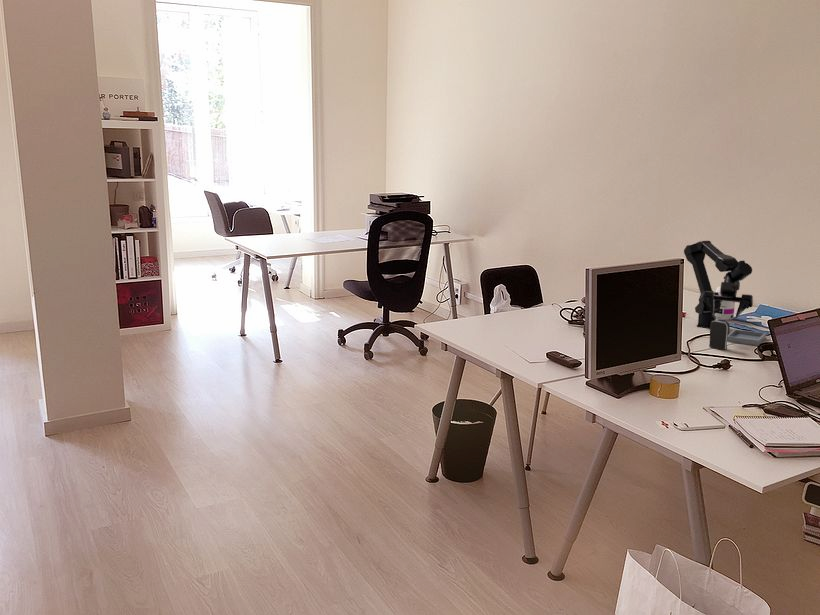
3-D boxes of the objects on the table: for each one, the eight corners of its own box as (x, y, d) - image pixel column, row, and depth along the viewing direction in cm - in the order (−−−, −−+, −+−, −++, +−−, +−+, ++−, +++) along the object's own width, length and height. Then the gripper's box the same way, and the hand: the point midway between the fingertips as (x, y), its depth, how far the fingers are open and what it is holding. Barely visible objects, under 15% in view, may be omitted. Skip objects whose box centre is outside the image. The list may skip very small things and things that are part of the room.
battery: (729, 348, 280) (731, 321, 278) (724, 350, 278) (726, 323, 275) (713, 345, 286) (715, 318, 283) (708, 347, 284) (710, 320, 281)
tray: (725, 341, 290) (726, 336, 290) (734, 334, 299) (734, 329, 299) (758, 345, 282) (758, 340, 282) (765, 338, 292) (765, 333, 291)
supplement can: (734, 317, 325) (737, 286, 321) (732, 321, 318) (734, 289, 315) (716, 315, 329) (718, 284, 326) (713, 319, 323) (715, 288, 319)
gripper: (705, 272, 289) (697, 303, 283) (754, 275, 279) (747, 308, 273) (708, 286, 297) (700, 317, 291) (755, 290, 287) (749, 322, 281)
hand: (724, 316), depth 284 cm, fingers open, 9 cm apart
